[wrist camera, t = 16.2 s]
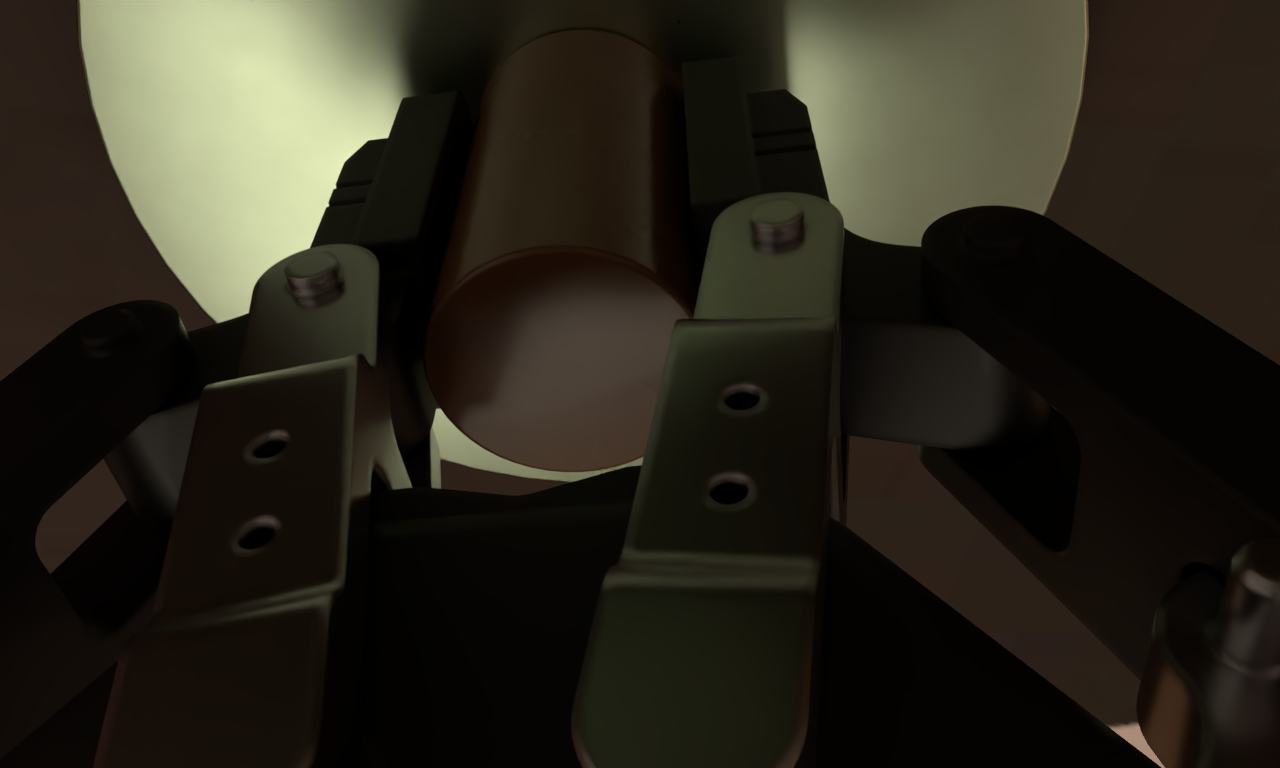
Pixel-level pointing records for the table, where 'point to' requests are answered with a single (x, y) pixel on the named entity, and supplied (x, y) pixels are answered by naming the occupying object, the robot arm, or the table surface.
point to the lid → (560, 163)
